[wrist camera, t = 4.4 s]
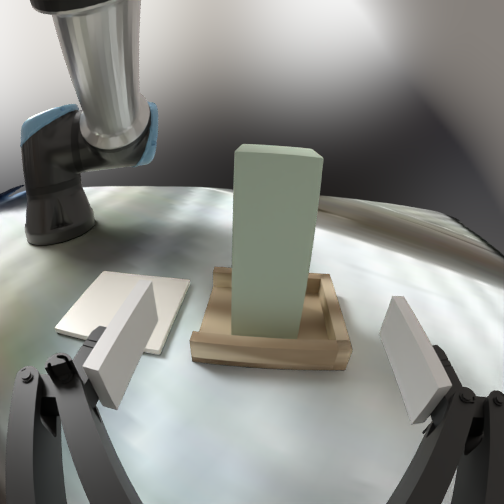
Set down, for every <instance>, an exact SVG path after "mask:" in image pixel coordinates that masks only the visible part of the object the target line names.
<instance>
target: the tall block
mask: <svg viewBox="0 0 504 504" xmlns="http://www.w3.org/2000/svg"><path fill="white" fill-rule="evenodd" d="M234 161H235V162H234V193H233V234H232V299H231V335H237V336H250V337H264V338H282V339H297V337H298V332H299V326H300V321H301V316H302V310H303V304H304V298H305V293H306V287H307V280H308V274H309V268H310V261H311V255H312V248H313V241H314V234H315V226H316V219H317V211H318V203H319V194H320V185H321V176H322V166H323V157H321V156H320V155H319V154H317V153H316V152H315V151H314V150H312V149H307V148H297V147H284V146H270V145H254V144H242V145H241V146H240V147H239V148H238V149H237V150H236V151H235V160H234Z"/></svg>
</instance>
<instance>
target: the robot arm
mask: <svg viewBox="0 0 504 504" xmlns="http://www.w3.org/2000/svg"><path fill="white" fill-rule="evenodd" d="M30 2H31V5H32V7H33V8H34V9H35V10H36V11H38V12H40V13H43V14H50V15H52V17H53V21H54V24H55V28H56V32H57V35H58V39H59V42H60V46H61V49H62V52H63V56H64V59H65V62H66V65H67V68H68V71H69V74H70V77H71V80H72V83H73V85H74V88H75V91H76V94H77V97H78V99H79V102H80V104H81V107H82V110H80V111H79V108H78V107H77V105H76V104H69V105H64V106H61V107H56V108H53V109H50V110H47V111H44V112H41V113H39V114H36V115H34V116H32V117H31V118H29V119H27V120H26V121H25V122H24V124H23V125H22V129H21V145H20V147H21V150H22V151H21V152H22V162H23V171H24V179H25V187H26V194H27V210H26V224H25V233H26V237H27V241H28V242H29V243H31V244H35V245H48V244H55V243H59V242H63V241H67V240H70V239H72V238H75V237H77V236H80V235H82V234H83V233H85V232H87V231H88V230H90V229H91V228H92V227H93V226H94V224H95V220H94V213H93V210H92V208H91V207H90V204H89V202H88V199H87V197H86V194H85V192H84V190H83V188H82V184H81V173H82V172H88V171H95V170H103V169H112V168H120V167H129V166H131V167H137V166H138V165H144V164H148V163H150V162H151V161H152V160H153V158H154V155H155V151H156V140H157V134H158V109H157V106H156V104H155V103H153V102H147V100H146V99H145V97H144V96H143V95H142V94H140V92H139V26H140V6H141V0H30ZM157 323H158V315H157V309H156V303H155V297H154V290H153V283H152V281H149V280H139V281H138V282H137V284H136V285H135V287H134V288H133V289H132V291H131V292H130V294H129V295H128V297H127V298H126V300H125V301H124V302H123V304H122V305H121V307H120V308H119V310H118V311H117V313H116V314H115V316H114V317H113V319H112V320H111V322H110V323H109V325H108V326H107V327H103V326H98V327H97V328H96V329H94V330H93V331H92V332H91V333H90V335H89V336H88V338H87V340H86V341H85V342H84V344H83V346H82V347H81V348H80V350H79V351H78V353H77V354H76V356H75V357H74V359H73V360H72V359H71V357H70V356H69V355H67V354H65V353H57V354H54V355H52V356H51V357H50V358H48V359H47V361H46V363H45V369H46V371H47V373H48V374H39V372H38V370H37V369H36V368H35V367H33V366H27V367H24V368H22V369H20V371H19V372H18V373H17V375H16V378H15V383H14V389H13V394H12V400H11V407H10V414H9V423H8V433H7V445H6V503H7V504H67V500H66V493H65V485H64V475H63V463H62V446H61V422H62V426H63V430H64V433H65V437H66V440H67V443H68V447H69V450H70V453H71V456H72V459H73V462H74V465H75V467H76V470H77V473H78V476H79V478H80V481H81V483H82V486H83V488H84V491H85V493H86V495H87V498H88V500H89V502H90V504H143V503H142V501H141V500H140V498H139V496H138V494H137V493H136V491H135V489H134V487H133V486H132V484H131V482H130V480H129V478H128V476H127V474H126V472H125V470H124V468H123V466H122V464H121V462H120V460H119V458H118V456H117V454H116V452H115V449H114V447H113V445H112V443H111V440H110V438H109V436H108V433H107V431H106V428H105V426H104V424H103V421H102V418H101V416H100V413H99V411H98V408H97V406H96V404H97V402H98V400H100V402H101V404H102V405H103V406H105V407H108V408H112V409H115V410H118V407H119V405H120V403H121V400H122V398H123V396H124V394H125V391H126V389H127V387H128V385H129V382H130V380H131V378H132V376H133V373H134V371H135V369H136V367H137V365H138V363H139V360H140V358H141V356H142V354H143V352H144V350H145V348H146V345H147V343H148V341H149V339H150V337H151V335H152V333H153V331H154V329H155V327H156V325H157ZM379 336H380V338H381V341H382V343H383V346H384V348H385V351H386V354H387V356H388V359H389V361H390V364H391V367H392V370H393V372H394V375H395V378H396V381H397V383H398V386H399V389H400V392H401V395H402V398H403V401H404V404H405V407H406V410H407V413H408V416H409V419H410V422H411V425H412V424H417V423H423V422H425V421H426V420H427V418H428V417H429V416H430V415H431V418H432V422H431V423H430V424H429V425H428V426H427V427H426V429H425V430H424V431H423V432H422V433H423V434H424V433H425V432H426V433H425V435H424V437H423V439H422V442H421V444H420V446H419V448H418V450H417V452H416V454H415V456H414V458H413V459H412V461H411V463H410V465H409V467H408V469H407V471H406V472H405V474H404V476H403V478H402V479H401V481H400V483H399V484H398V486H397V488H396V489H395V491H394V492H393V494H392V496H391V497H390V499H389V500H388V502H387V503H386V504H441V503H442V501H443V498H444V496H445V494H446V492H447V490H448V488H449V485H450V483H451V481H452V478H453V476H454V473H455V471H456V468H457V474H456V480H455V485H454V491H453V496H452V501H451V504H504V394H503V393H502V392H500V391H492V392H491V393H490V394H489V396H488V397H478V396H476V395H475V393H474V392H473V391H472V390H471V389H469V388H466V387H462V385H461V383H460V381H459V379H458V377H457V375H456V373H455V371H454V369H453V367H452V366H451V363H450V362H449V360H448V358H447V356H446V354H445V352H444V351H443V350H442V349H441V348H440V347H439V346H438V345H432V344H431V343H430V341H429V339H428V337H427V335H426V334H425V332H424V330H423V328H422V326H421V325H420V323H419V321H418V319H417V318H416V316H415V314H414V313H413V311H412V309H411V308H410V306H409V304H408V303H407V301H406V299H405V298H404V296H392V299H391V301H390V304H389V307H388V310H387V313H386V316H385V319H384V321H383V324H382V327H381V329H380V332H379ZM457 466H458V467H457Z"/></svg>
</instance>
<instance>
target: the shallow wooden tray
mask: <svg viewBox="0 0 504 504" xmlns="http://www.w3.org/2000/svg"><path fill="white" fill-rule="evenodd" d="M231 299H232V268H226V267H215V268H214V270H213V289H212V292H211V295H210V298H209V302H208V305H207V308H206V311H205V314H204V318H203V321H202V324H201V327H200V331H199V332H196V331H193V332H192V335H191V338H190V348H191V356H192V361H193V362H201V363H209V364H219V365H229V366H240V367H253V368H269V369H291V370H345V369H346V366H347V364H348V361H349V359H350V356H351V353H352V350H353V349H352V346H351V342H350V339H349V335H348V332H347V329H346V325H345V322H344V319H343V315H342V312H341V309H340V305H339V302H338V299H337V296H336V293H335V290H334V287H333V283H332V280H331V277H330V274H318V273H309V274H308V280H307V287H306V293H305V298H304V304H303V310H302V316H301V321H300V326H299V332H298V337H297V339H282V338H264V337H250V336H237V335H231Z"/></svg>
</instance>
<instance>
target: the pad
mask: <svg viewBox="0 0 504 504" xmlns="http://www.w3.org/2000/svg"><path fill="white" fill-rule="evenodd" d="M139 280H149V281H152V283H153V290H154V297H155V303H156V309H157V315H158V323H157V325H156V327H155V329H154V331H153V333H152V335H151V337H150V339H149V341H148V343H147V345H146V348H145V350H144V352H145V353H151V354H157V355H160V354H161V351H162V349H163V346H164V344H165V342H166V339H167V337H168V334H169V332H170V330H171V327H172V325H173V323H174V320H175V318H176V316H177V313H178V311H179V309H180V306H181V304H182V302H183V299H184V297H185V295H186V292H187V290H188V288H189V286H190V280H189V279H178V278H167V277H157V276H146V275H137V274H127V273H118V272H109V271H103V272H102V273H101V274H100V275H99V277H98V278H97V279H96V280H95V281H94V282H93V283H92V284H91V285H90V287H89V288H88V289H87V290H86V291H85V292H84V293H83V295H82V296H81V297H80V298H79V299H78V300H77V302H76V303H75V304H74V305H73V306H72V307H71V309H70V310H69V311H68V312H67V313H66V315H65V316H64V317H63V318H62V319H61V321H60V322H59V323H58V324H57V326H56V327H55V330H56V332H57V333H61V334H64V335H68V336H72V337H76V338H80V339H84V340H87V338H88V336H89V335H90V333H91V332H92V331H93V330H94V329H96V328H97V327H98V326H103V327H107V326H108V325H109V323H110V322H111V320H112V319H113V317H114V316H115V314H116V313H117V311H118V310H119V308H120V307H121V305H122V304H123V302H124V301H125V300H126V298H127V297H128V295H129V294H130V292H131V291H132V289H133V288H134V287H135V285H136V284H137V282H138V281H139Z"/></svg>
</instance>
